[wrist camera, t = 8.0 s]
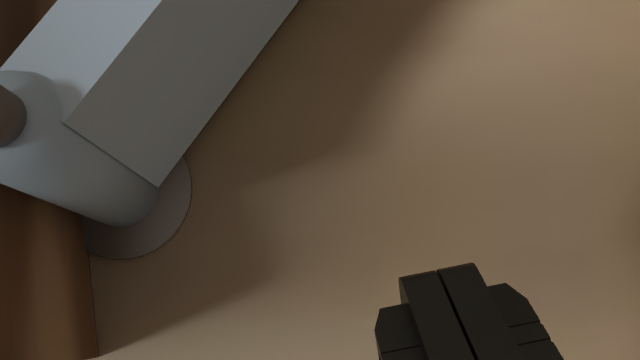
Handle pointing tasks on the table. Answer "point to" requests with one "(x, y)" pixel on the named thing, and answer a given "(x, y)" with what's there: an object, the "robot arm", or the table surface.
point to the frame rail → (60, 237)
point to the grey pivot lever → (124, 95)
